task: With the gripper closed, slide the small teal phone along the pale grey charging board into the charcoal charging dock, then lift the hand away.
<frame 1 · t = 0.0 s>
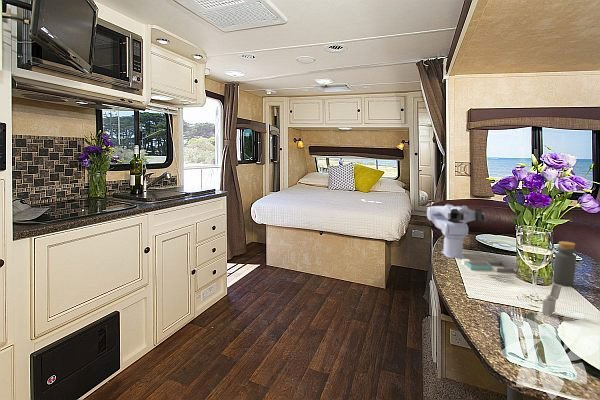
hand: (472, 217, 130), 22 cm above the table, tool horizontal, fingers open, 7 cm apart
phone: (478, 268, 133), point 1 cm above the table, touching charging board
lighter: (550, 312, 97), on the table
bottle: (562, 283, 119), on the table
charging board: (486, 269, 133), on the table
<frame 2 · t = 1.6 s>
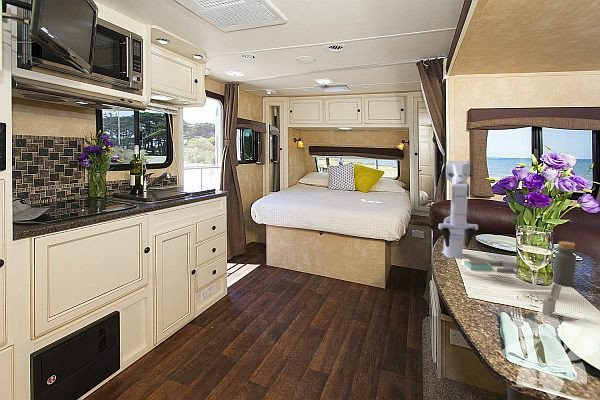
hand: (456, 246, 133), 9 cm above the table, tool pointing down, fingers open, 7 cm apart
nothing on the table moved.
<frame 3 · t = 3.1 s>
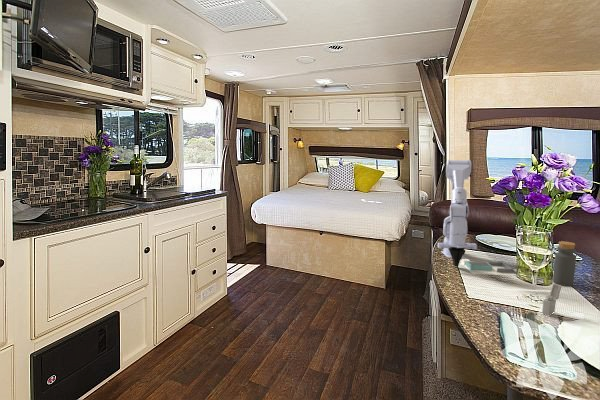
hand: (455, 265, 134), 1 cm above the table, tool pointing down, fingers closed
nothing on the table moved.
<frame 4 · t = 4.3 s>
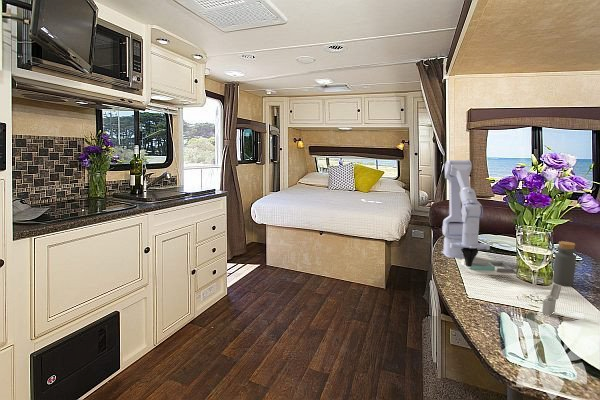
hand: (468, 265, 134), 1 cm above the table, tool pointing down, fingers closed
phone: (481, 268, 133), point 1 cm above the table, touching charging board, gripper
everything else where it was.
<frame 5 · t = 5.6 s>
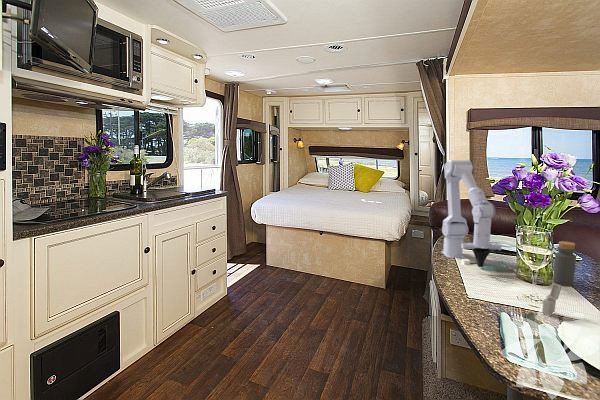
hand: (479, 266, 133), 1 cm above the table, tool pointing down, fingers closed
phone: (492, 268, 133), point 1 cm above the table, touching charging board, gripper
everything else where it was.
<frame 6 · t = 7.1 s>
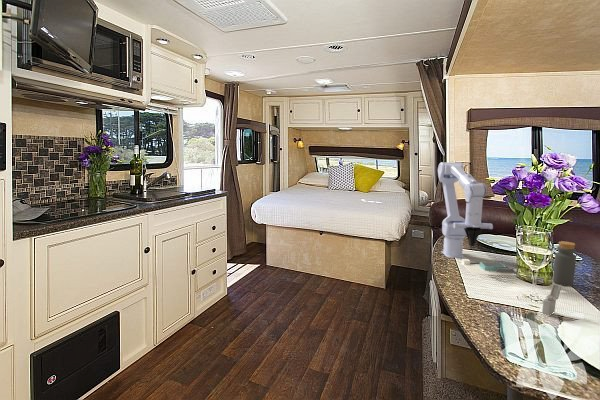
hand: (471, 245, 135), 9 cm above the table, tool pointing down, fingers closed
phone: (492, 268, 133), point 1 cm above the table, touching charging board
everything else where it was.
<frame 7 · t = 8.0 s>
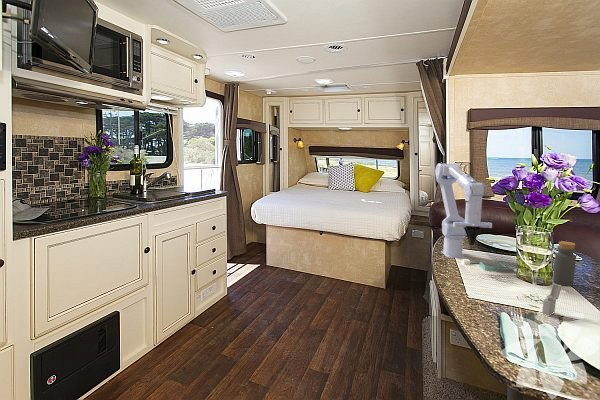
hand: (471, 244, 136), 9 cm above the table, tool pointing down, fingers closed
nothing on the table moved.
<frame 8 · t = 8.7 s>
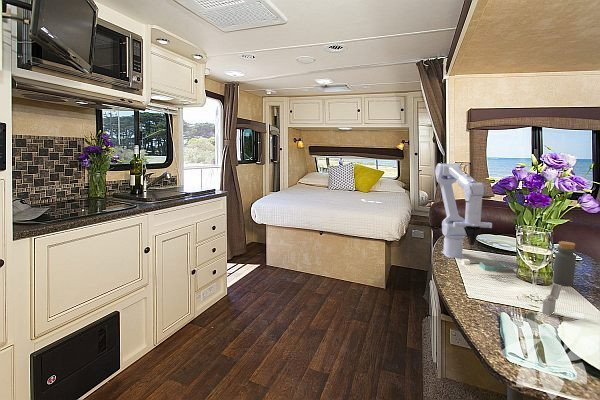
hand: (471, 244, 136), 9 cm above the table, tool pointing down, fingers closed
nothing on the table moved.
at the end: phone 0.3 cm from the target spot on the charging board, point 0.6 cm above the charging board's base; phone tilted 0°; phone moved 5.2 cm from its start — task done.
